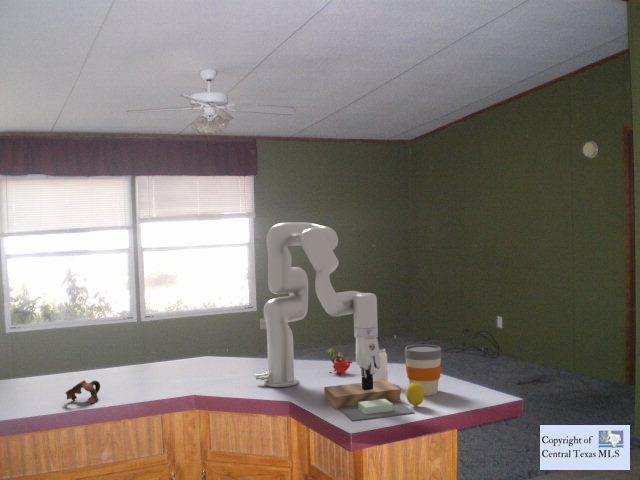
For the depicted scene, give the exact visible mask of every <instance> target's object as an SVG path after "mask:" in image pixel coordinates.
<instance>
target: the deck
mask: <svg viewBox="0 0 640 480" xmlns="http://www.w3.org/2000/svg"><path fill="white" fill-rule="evenodd" d="M323 388H324V389H323V391H324V392H323V393H324V394H323V395H324V400H325V401H326V402H327V403H328V404H330V406H332V408H334V409H335V410H339V408H345V407H353V406H358V402H362V401H370V400H379V399H386V400H388V401H389V402H394V401H399V402H400V403H401V389H400V388H399V387H397V386H396V385H394V384H393V383H391V382H389V381H386V380H382V381H373V389H372V390H363V389H362V382H357V383H348V384H347V383H346V384H338V385H330V386H324V387H323Z"/></svg>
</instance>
